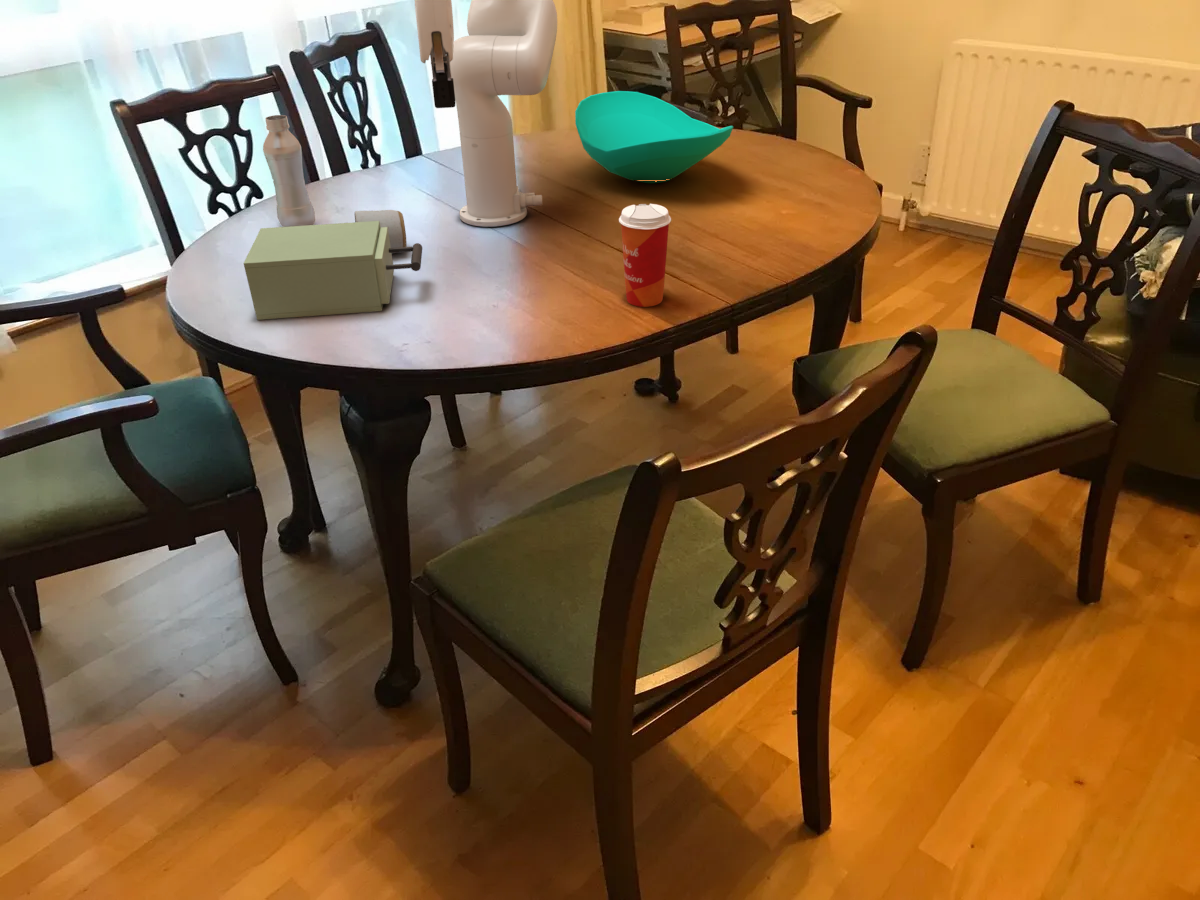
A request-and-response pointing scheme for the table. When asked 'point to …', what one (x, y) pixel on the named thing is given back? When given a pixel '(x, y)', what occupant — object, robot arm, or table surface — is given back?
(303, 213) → the plastic bottle
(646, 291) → the paper cup
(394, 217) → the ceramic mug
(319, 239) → the cabinet
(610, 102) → the table top decor
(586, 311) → the table surface
